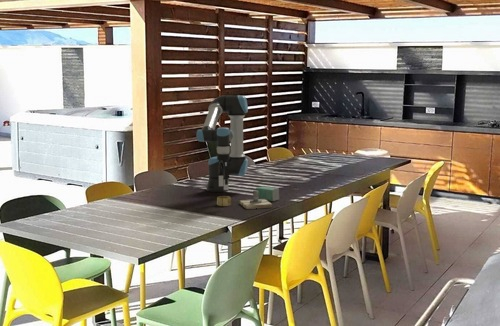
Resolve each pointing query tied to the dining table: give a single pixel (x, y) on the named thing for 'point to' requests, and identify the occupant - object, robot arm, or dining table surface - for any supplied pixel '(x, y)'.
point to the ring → (223, 201)
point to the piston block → (255, 202)
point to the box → (268, 193)
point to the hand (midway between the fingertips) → (223, 188)
